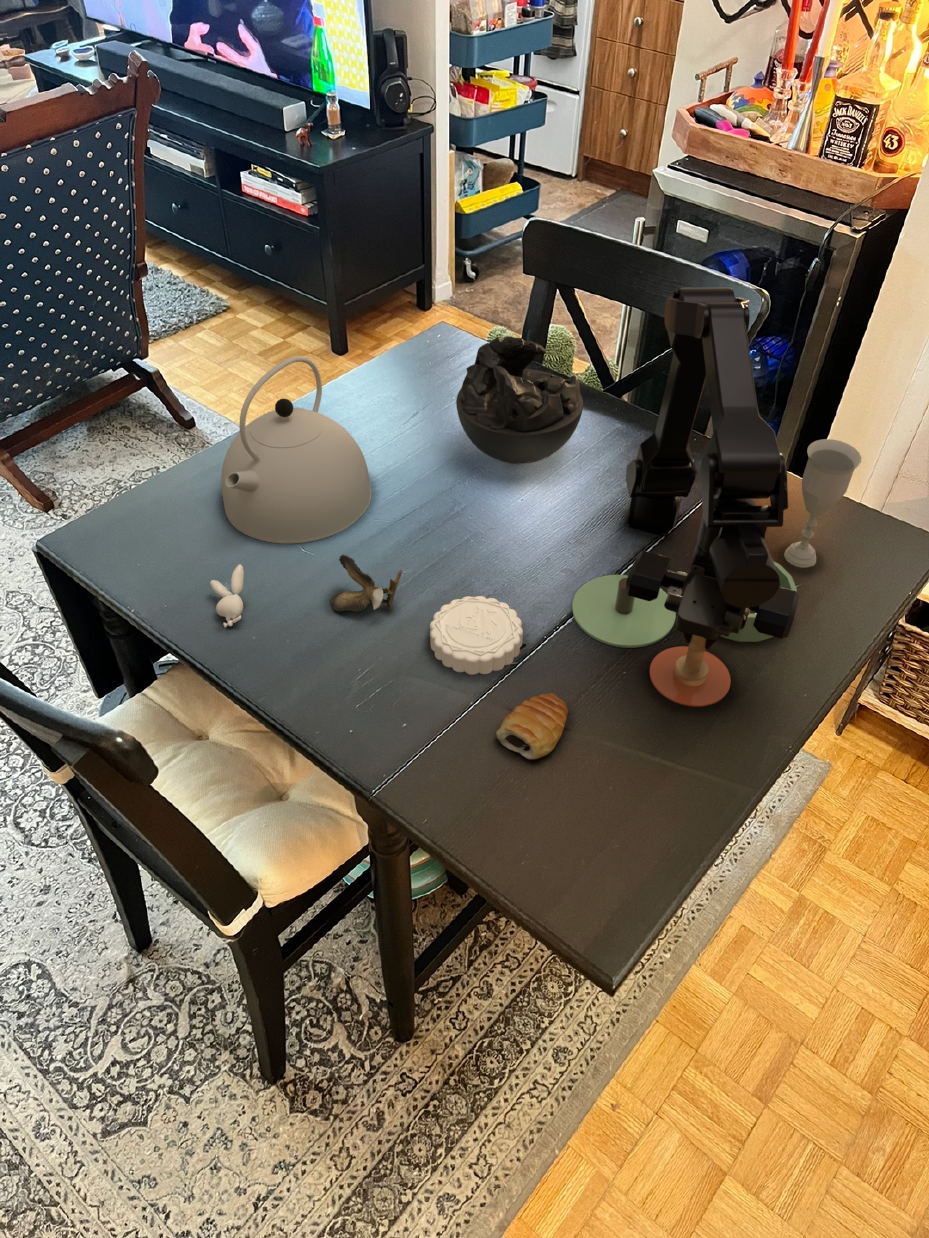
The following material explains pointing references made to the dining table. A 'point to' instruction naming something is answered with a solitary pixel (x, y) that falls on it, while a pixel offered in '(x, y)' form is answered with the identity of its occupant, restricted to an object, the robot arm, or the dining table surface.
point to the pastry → (534, 726)
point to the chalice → (822, 490)
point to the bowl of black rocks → (517, 403)
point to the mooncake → (476, 635)
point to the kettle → (293, 472)
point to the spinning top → (683, 694)
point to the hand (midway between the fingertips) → (697, 643)
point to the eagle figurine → (368, 594)
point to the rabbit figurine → (230, 597)
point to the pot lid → (620, 614)
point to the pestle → (692, 663)
